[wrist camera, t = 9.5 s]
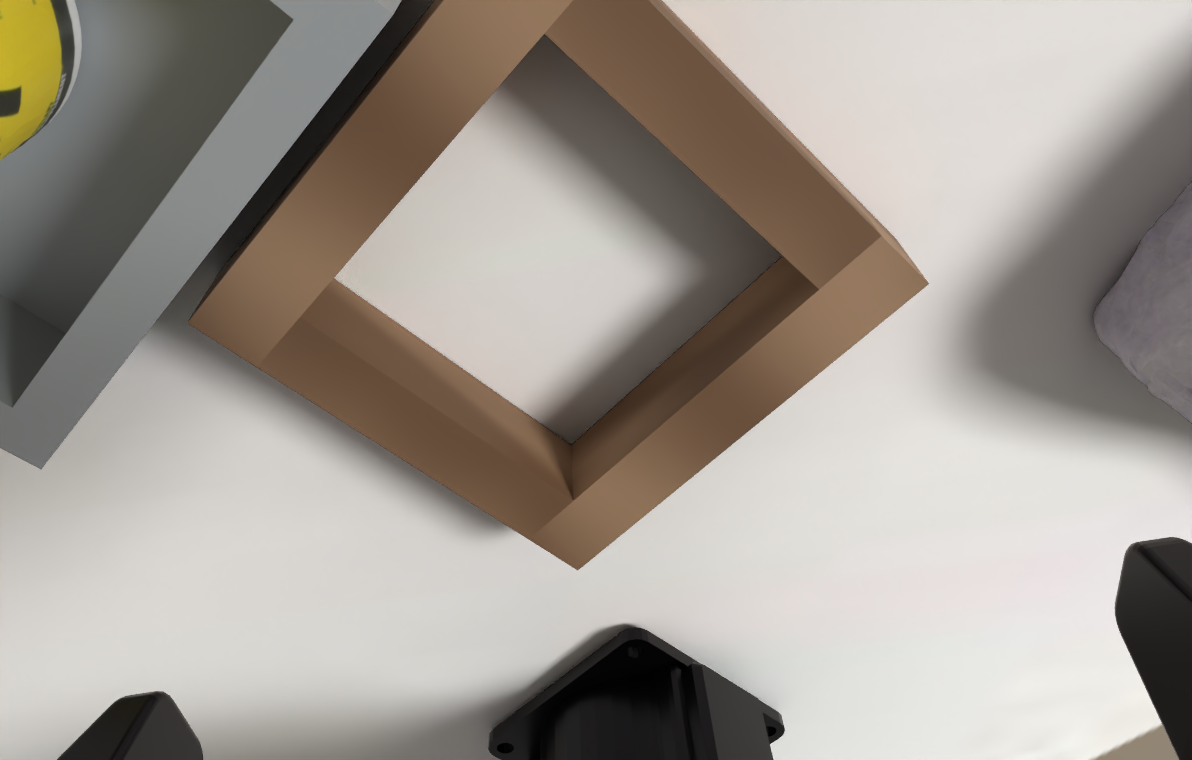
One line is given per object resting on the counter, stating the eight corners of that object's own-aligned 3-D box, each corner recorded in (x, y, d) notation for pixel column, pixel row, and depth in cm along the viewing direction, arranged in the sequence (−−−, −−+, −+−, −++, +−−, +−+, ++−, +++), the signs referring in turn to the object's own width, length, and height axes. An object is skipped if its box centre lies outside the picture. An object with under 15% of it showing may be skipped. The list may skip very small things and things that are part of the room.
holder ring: (575, 512, 23) (577, 570, 22) (217, 275, 19) (187, 323, 18) (896, 239, 20) (929, 283, 18) (535, -128, 16) (535, -115, 14)
